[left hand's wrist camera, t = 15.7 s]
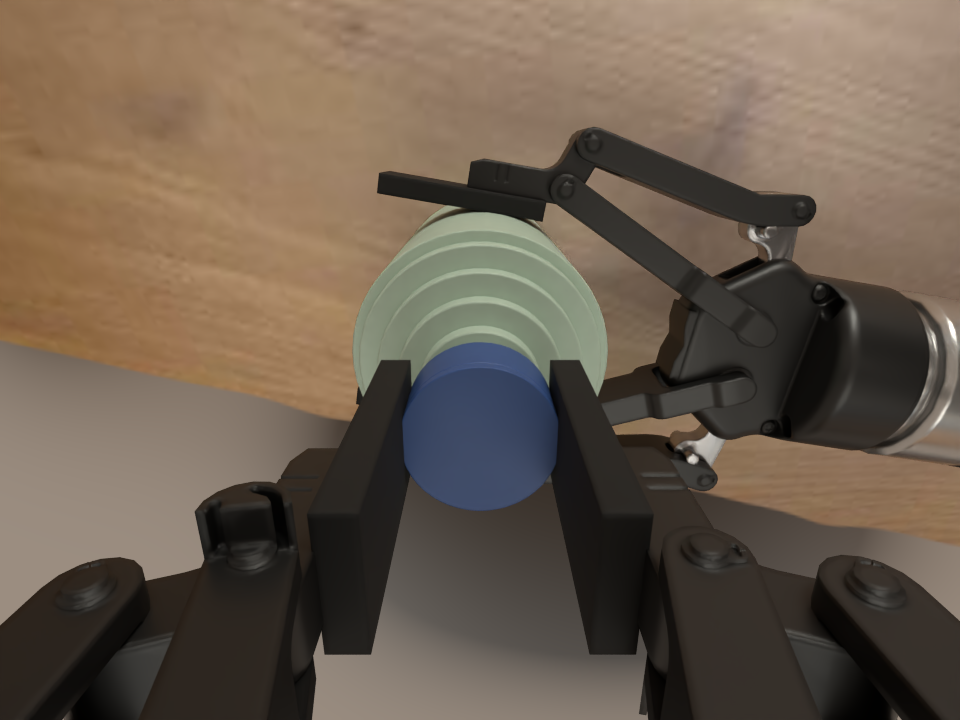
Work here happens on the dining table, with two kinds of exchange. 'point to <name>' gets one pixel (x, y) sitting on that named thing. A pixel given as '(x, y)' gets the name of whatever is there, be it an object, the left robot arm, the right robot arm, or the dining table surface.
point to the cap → (480, 427)
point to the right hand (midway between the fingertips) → (373, 289)
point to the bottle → (479, 298)
